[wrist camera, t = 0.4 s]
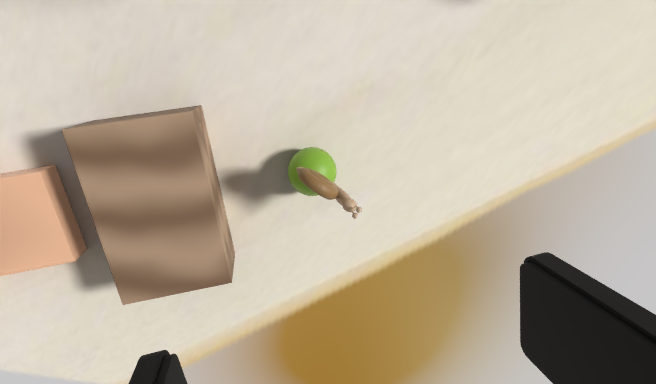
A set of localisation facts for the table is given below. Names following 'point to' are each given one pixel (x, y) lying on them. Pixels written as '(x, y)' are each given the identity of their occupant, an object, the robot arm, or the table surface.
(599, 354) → the robot arm
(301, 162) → the snail figurine
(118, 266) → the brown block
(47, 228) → the peach tile
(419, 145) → the table surface
